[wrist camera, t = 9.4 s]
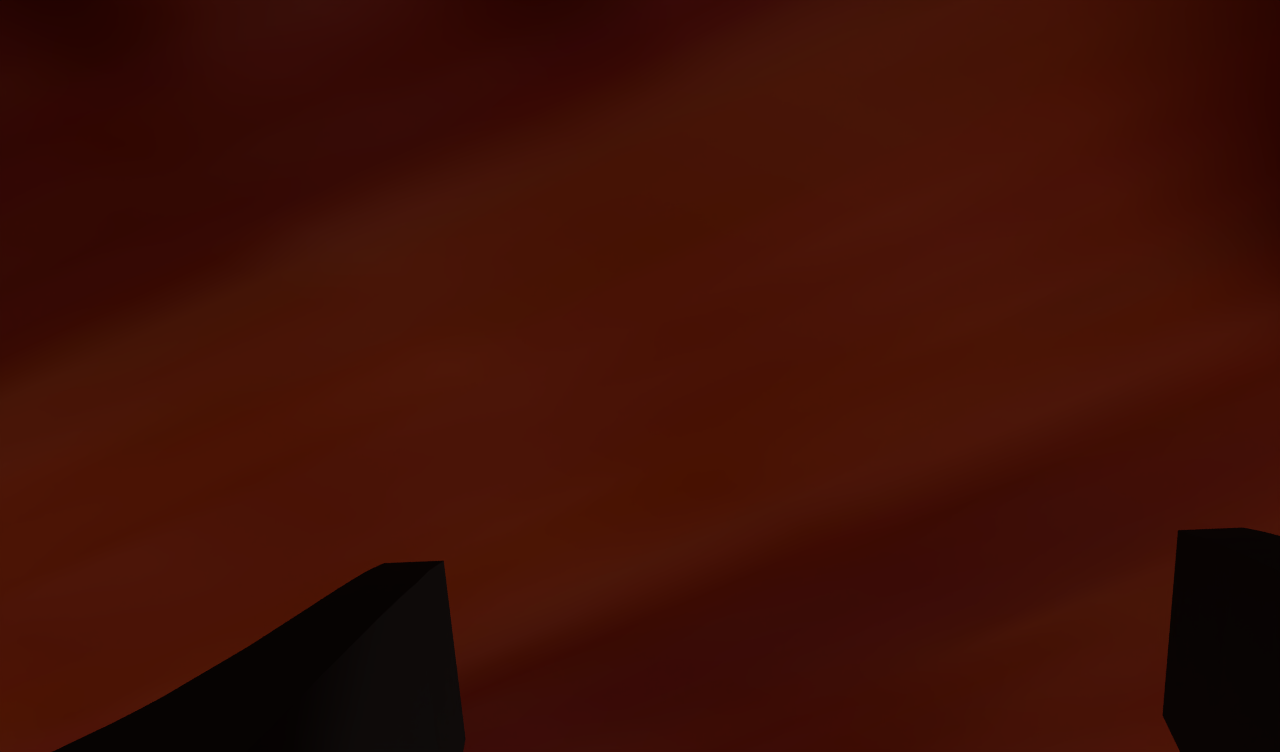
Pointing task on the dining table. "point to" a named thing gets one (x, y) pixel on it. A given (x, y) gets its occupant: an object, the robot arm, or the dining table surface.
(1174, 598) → the robot arm
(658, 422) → the dining table surface
